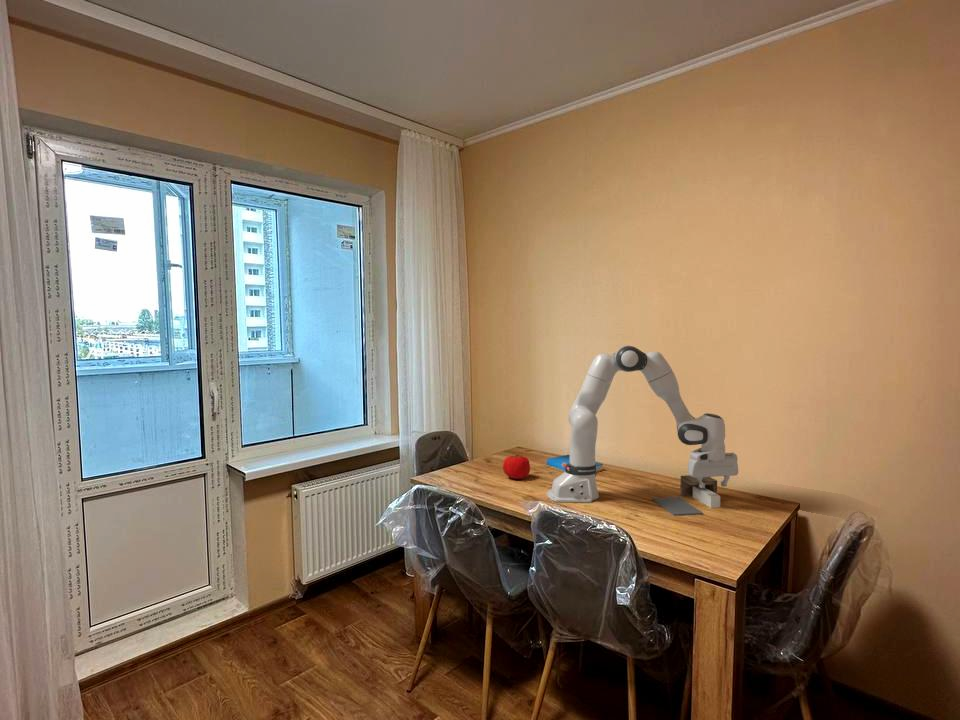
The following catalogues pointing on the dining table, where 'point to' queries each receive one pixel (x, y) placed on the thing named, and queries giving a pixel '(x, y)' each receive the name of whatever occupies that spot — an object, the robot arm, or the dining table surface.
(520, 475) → the tomato
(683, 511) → the mat
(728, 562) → the dining table surface
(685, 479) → the brown box
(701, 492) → the block
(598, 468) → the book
